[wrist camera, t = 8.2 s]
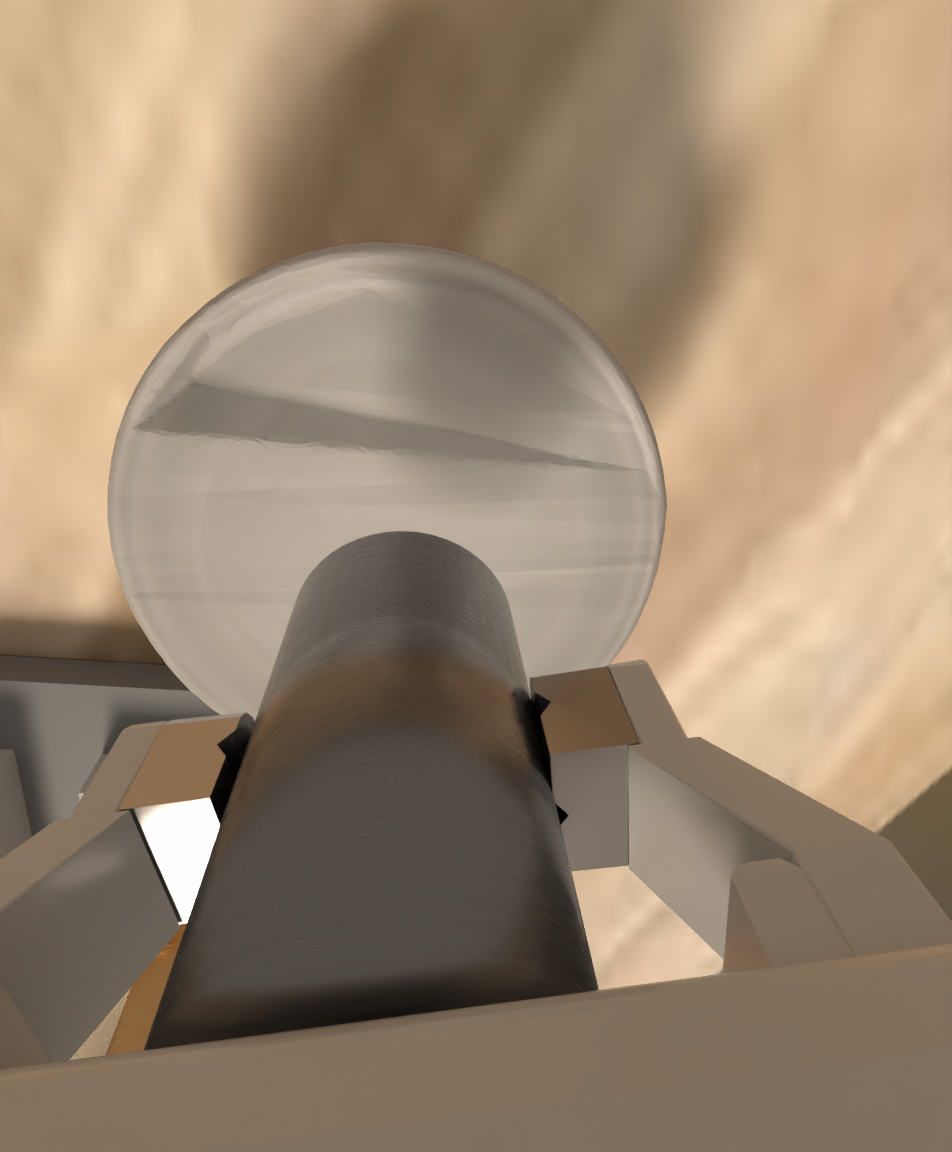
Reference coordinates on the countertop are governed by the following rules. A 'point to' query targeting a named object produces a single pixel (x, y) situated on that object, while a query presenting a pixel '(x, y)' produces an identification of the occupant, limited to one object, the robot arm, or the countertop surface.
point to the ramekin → (381, 458)
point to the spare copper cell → (144, 1001)
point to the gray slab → (71, 730)
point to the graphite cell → (383, 816)
